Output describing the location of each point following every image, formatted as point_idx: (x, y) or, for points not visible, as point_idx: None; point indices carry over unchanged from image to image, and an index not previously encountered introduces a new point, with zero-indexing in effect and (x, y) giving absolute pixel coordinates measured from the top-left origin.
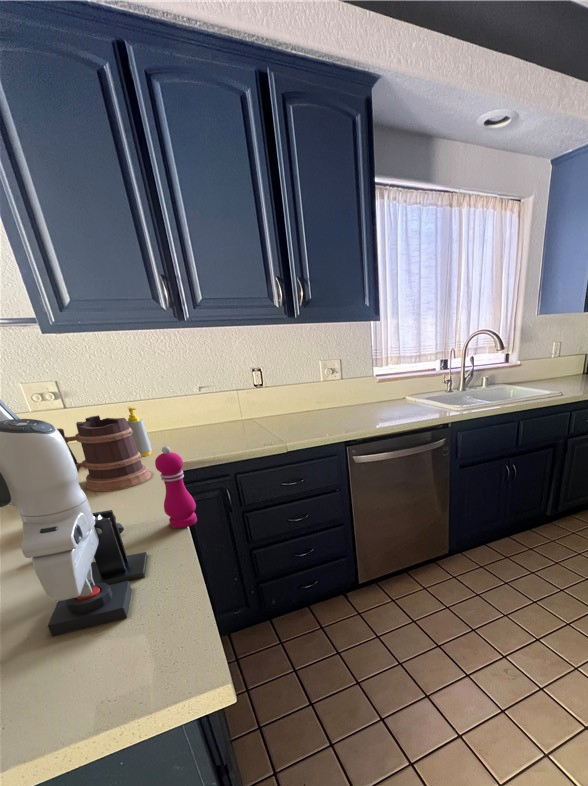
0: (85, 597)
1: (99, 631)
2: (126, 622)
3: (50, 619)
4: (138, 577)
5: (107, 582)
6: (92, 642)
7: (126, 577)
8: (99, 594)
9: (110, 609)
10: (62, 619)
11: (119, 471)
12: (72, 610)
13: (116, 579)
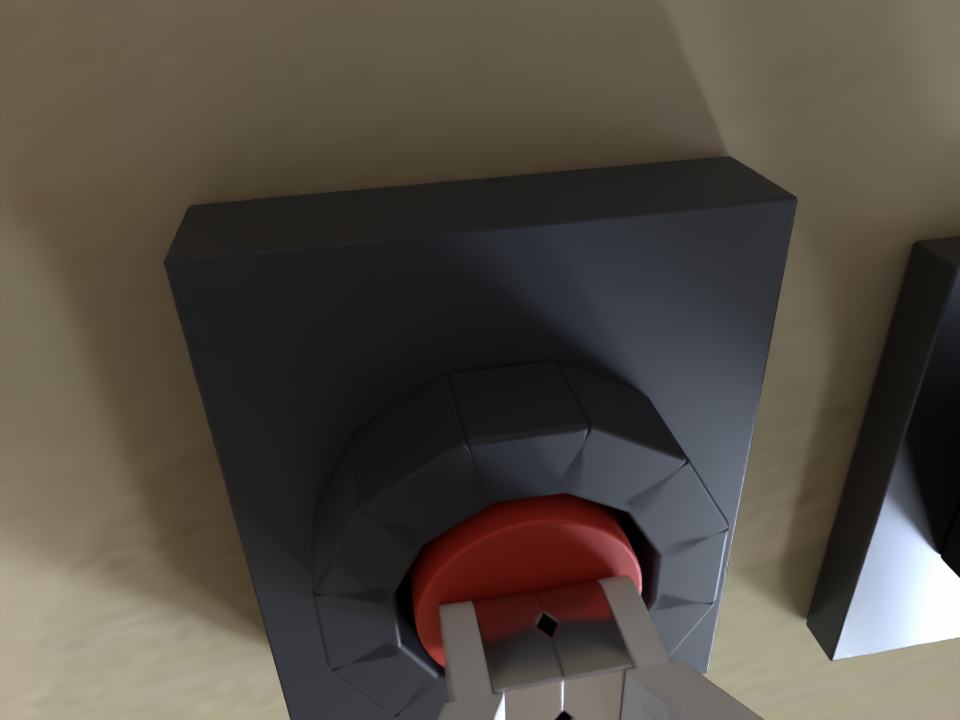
0: (428, 623)
1: (170, 549)
2: (243, 668)
3: (291, 254)
4: (818, 602)
5: (875, 449)
6: (22, 547)
7: (847, 565)
8: None
9: (301, 685)
10: (256, 375)
11: None
12: (348, 462)
13: (866, 511)
